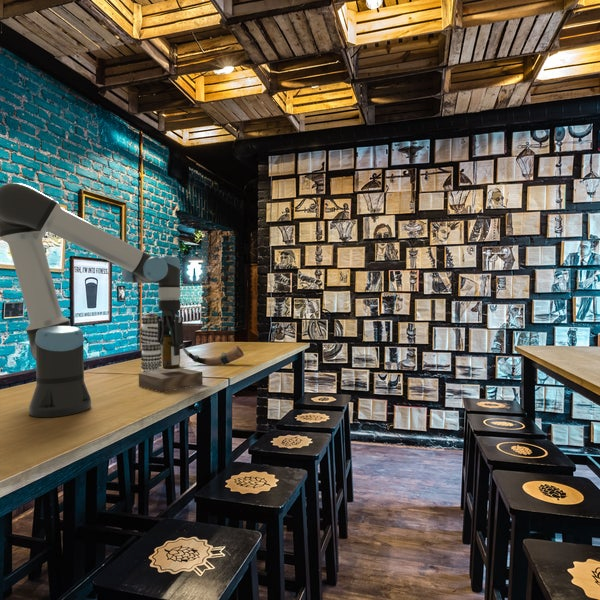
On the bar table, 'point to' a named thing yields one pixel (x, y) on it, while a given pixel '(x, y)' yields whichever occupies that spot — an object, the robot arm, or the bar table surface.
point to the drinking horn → (222, 359)
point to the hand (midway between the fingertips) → (170, 363)
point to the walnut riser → (170, 379)
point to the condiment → (168, 354)
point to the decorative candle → (150, 343)
